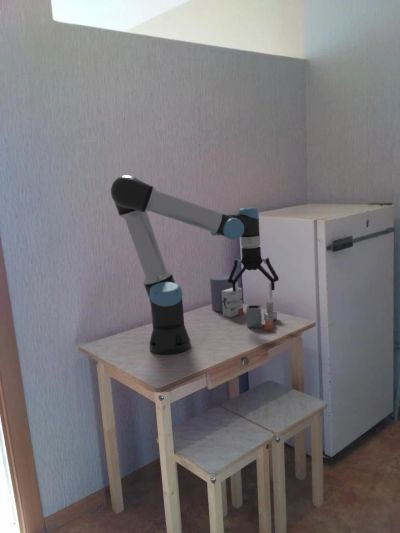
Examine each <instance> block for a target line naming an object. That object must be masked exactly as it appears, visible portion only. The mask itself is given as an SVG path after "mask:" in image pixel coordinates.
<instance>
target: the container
mask: <svg viewBox="0 0 400 533" xmlns="http://www.w3.org/2000/svg"><path fill="white" fill-rule="evenodd" d="M229 277H230V274H228V275H225V274H223V275H222V274H221V275H214V276H211V277H210V278H209V280H210V298H211V310H213V311H215V312H223V306H222V291H223V290H226V289H230V288H233V285H232V283H228V279H229Z"/></svg>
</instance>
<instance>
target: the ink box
mask: <svg viewBox="0 0 400 533" xmlns="http://www.w3.org/2000/svg"><path fill="white" fill-rule="evenodd" d="M238 293H239V299H238V300H236V292H233V288H230V289H226V290H223V291H222V306H223V311H222V316H223V317H226V316H227V317H226V318H230V317H231V318H233V316H234V317H236V316H235V315H237V316H239V315H241V314H240V313H242V314H244V306H243V305H244V303H243V288H242V287H238ZM238 314H239V315H238Z"/></svg>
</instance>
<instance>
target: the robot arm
mask: <svg viewBox="0 0 400 533" xmlns="http://www.w3.org/2000/svg"><path fill="white" fill-rule="evenodd" d="M110 195H111V198H112V200H113V201H114V205H115V207H116V209H117V213H118V215H119V217H120V218H122V219H124V220H125V224H126V225H127V229H128V231H129V234H130V237H131V240H132V243H133V245H134V248H135V252H136V254H137V257H138V259H139V263H140V265H141V268H142V271H143V273H144V277H145V279H144V280H143V283H142V284H143V285H144V288H145V291H146V294H147V297H148V300H149V304H150V311H151V313H150V314H151V321H152V323H151V324H152V331H151V336H150V340H149V350H150V352H152V353H154V354H157V355H175V354H179V353H183V352H186V351H187V350H189V349H190V348H191V338H190V336H189V333H188V331H187V328H186V325H185V317H184V316H185V315H184V304H183V291H182V287H181V285H180V284H178V283H176V281H175V279H174V276H173V273H172V272H171V271H169V270H167V267H166V264H165V261H164V259H163V256H162V253H161V250H160V247H159V244H158V240H157V238H156V236H155V231H154V230H153V226H152V224H151V221H150V218H149V215H148V212H152V213H155V214H157V215H160V216H164V217H166V218H169V219H172V220H175V221H178V222H181V223H184V224H186V225H190V226H193V227H196V228H199V229H201V230H206V231H208V232H210V233H209V234H211V235H212V236H218V237H219V236H222V237H224V238H227V239H229V240H238V239H240V241H241V242H240V246H241V247H242V248H241V259H238V258H235V259H234V262H233V264H234V266H233V267H232V269H231V272H230V274H229V276H230V277H229V279H228V283H232V285H233V292H236V300H238V299H239V293H238V288H239V282H238V281H239V279H240V278H241V277H242V275H243V274H244V273H245V272H246V270H247V271H257V270H259V272H261V273H262V274H263V275H264V276H265V277H266V278H267V279H268V281H269V282H268V283H269V284H268V285H269V300H272V299H273V291H275V285H276V284H275V282H278V281H279V279H280V277H279V276H278V274H277V272H276V271H275V269H274V267H273V265H272V263H271V261H270V258H269V257H266V258H265V257H264V258H262V252H261V250H262V249H261V234H260V217H259V210H258V208H257V207H254V206H251V207H243V208H241V207H240V208H239V209H238V213H235V214H225V213H222V212H219V211H216V210H213V209H210V208H208V207H205V206H202V205H199V204H197V203H193V202H190V201H187V200H184V199H182V198H180V197H177V196H173V195H170V194H168V193H164V192H162V191H159V190H157V189H156V188H155V186H154V185H150V184H148V183H146V182H144V181H142V180H140V179H139V178H137V177H136V176H133V175H131V174H130V175H128V174H126V175H120V176H119V177H117V178H116V179H115V180H114V181H113V182H112V185H111V187H110ZM263 263H264V264H265V265H266V266H267V268H268V269H269V271H267V270H266V269H265V268H264V267H263V266H262V264H263ZM240 264H242V266H243V267H242V268H241V270H240V271H239V272H238V274H237V275H236V276H235V277H234V275H235V273H236V271H237V268H238V266H239V265H240ZM269 272H270V273H271V274H270V273H269ZM233 277H234V279H233Z"/></svg>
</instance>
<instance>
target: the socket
mask: <svg viewBox="0 0 400 533" xmlns="http://www.w3.org/2000/svg"><path fill="white" fill-rule="evenodd" d="M245 310H246V327H247V329H261V328H262V326H261V325H263V320H262V318H263V317H262V305H261V304H252V305H251V304H248V305H247V306H246V309H245Z"/></svg>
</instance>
